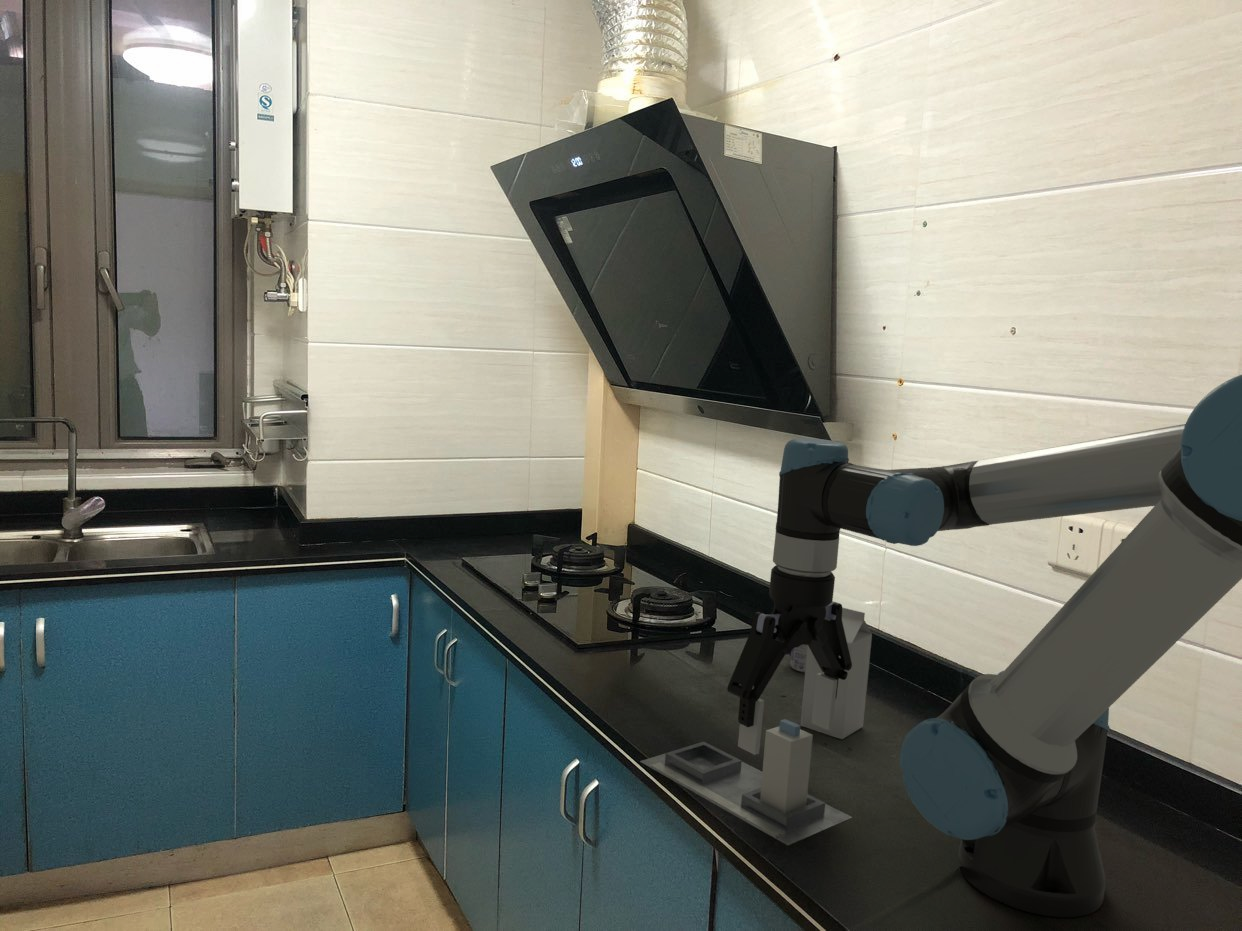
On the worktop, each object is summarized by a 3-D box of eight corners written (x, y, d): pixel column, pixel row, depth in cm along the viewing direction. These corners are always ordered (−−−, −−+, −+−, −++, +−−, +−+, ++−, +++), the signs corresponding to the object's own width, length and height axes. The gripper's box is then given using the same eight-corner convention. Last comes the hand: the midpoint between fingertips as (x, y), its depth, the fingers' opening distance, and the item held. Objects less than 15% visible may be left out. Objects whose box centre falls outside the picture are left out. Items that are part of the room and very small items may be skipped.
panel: (851, 824, 118) (853, 805, 118) (787, 853, 110) (789, 832, 110) (702, 748, 138) (703, 731, 138) (639, 768, 130) (640, 750, 130)
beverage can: (821, 676, 172) (828, 594, 170) (789, 672, 173) (796, 590, 171) (821, 666, 178) (828, 586, 176) (790, 662, 179) (797, 583, 177)
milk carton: (821, 714, 154) (832, 598, 151) (863, 727, 149) (874, 608, 147) (799, 726, 148) (810, 606, 146) (842, 740, 144) (854, 617, 141)
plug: (805, 812, 118) (813, 725, 117) (784, 821, 116) (792, 732, 114) (780, 799, 121) (788, 714, 120) (759, 807, 119) (766, 720, 118)
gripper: (842, 552, 126) (826, 707, 129) (706, 572, 110) (691, 748, 113) (891, 565, 120) (873, 727, 123) (755, 588, 104) (738, 774, 107)
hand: (786, 737), depth 118 cm, fingers open, 13 cm apart
